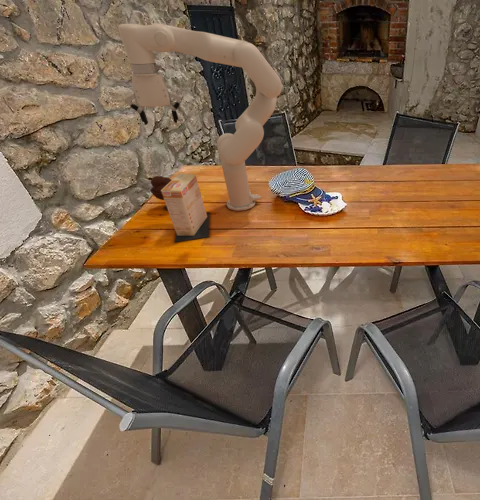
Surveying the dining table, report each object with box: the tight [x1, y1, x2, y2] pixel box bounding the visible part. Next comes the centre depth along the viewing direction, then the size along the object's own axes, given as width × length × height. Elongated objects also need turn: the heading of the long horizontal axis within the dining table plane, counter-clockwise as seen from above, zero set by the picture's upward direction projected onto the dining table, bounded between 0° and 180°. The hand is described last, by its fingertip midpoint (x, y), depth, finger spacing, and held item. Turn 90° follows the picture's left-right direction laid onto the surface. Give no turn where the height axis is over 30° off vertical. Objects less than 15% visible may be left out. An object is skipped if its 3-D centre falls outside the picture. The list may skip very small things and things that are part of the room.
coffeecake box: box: [161, 173, 207, 236], centre depth 124 cm, size 15×7×20 cm, turn 0°
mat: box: [174, 211, 210, 243], centre depth 130 cm, size 12×20×1 cm, turn 19°
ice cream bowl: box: [149, 175, 172, 211], centre depth 138 cm, size 11×11×15 cm
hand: (161, 122), depth 115 cm, fingers open, 9 cm apart
